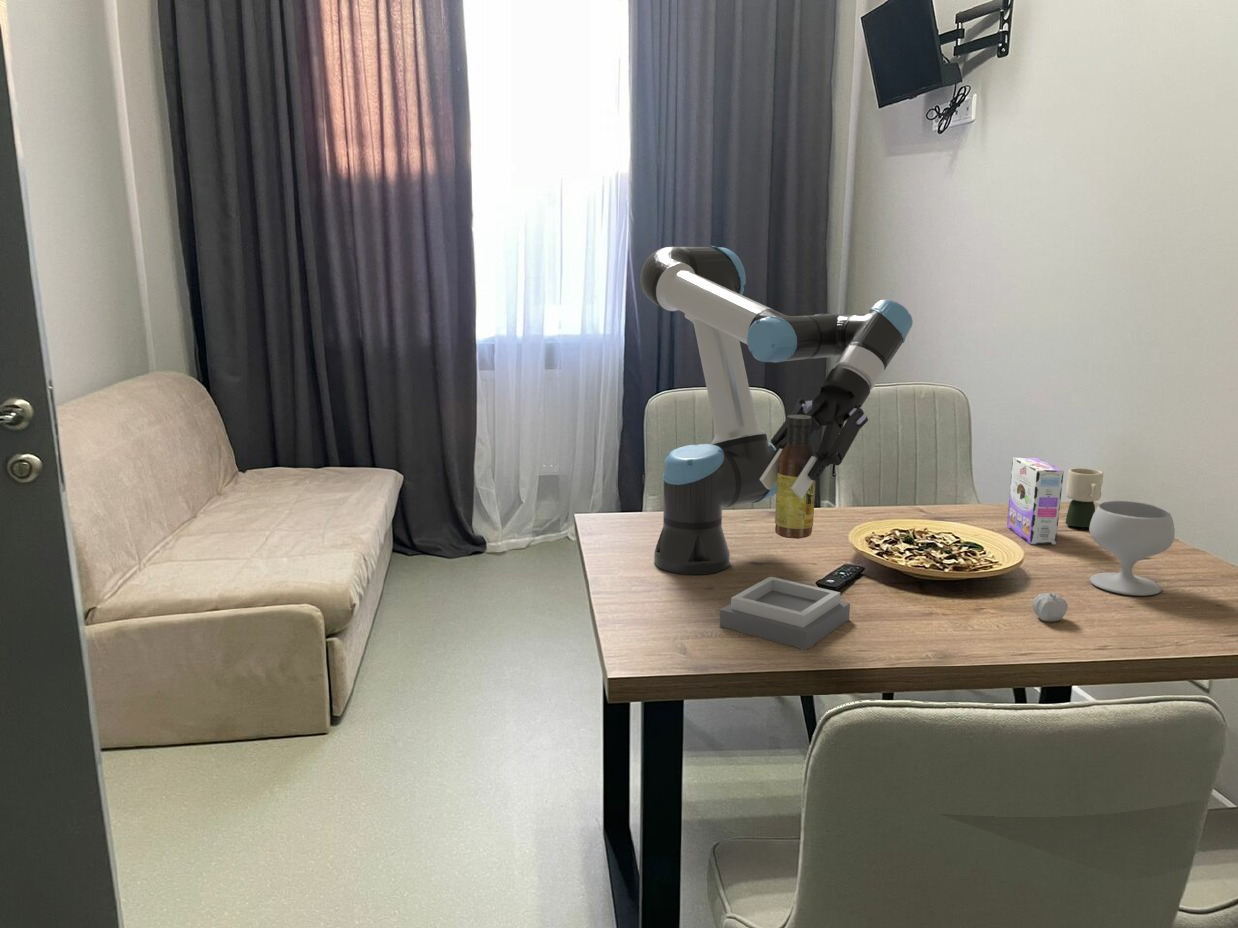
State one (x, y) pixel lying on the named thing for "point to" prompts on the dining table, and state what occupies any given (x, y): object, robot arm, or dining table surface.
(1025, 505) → the candy box
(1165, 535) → the chalice
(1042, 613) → the garlic
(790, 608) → the pedestal
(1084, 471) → the character mug
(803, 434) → the sauce bottle
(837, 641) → the dining table surface
